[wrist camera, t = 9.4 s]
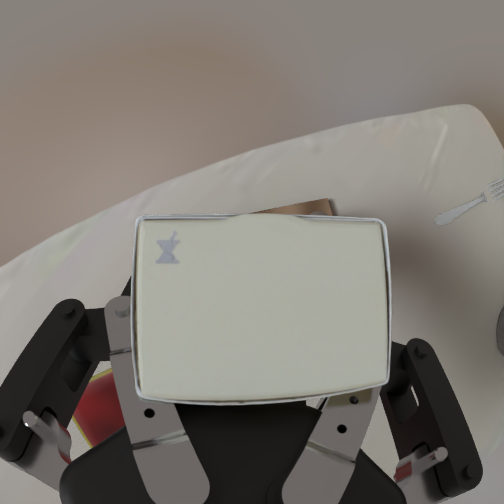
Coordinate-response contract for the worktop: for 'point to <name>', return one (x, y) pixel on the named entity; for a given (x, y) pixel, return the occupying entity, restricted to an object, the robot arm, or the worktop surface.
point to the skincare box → (259, 307)
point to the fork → (467, 206)
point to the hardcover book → (99, 409)
